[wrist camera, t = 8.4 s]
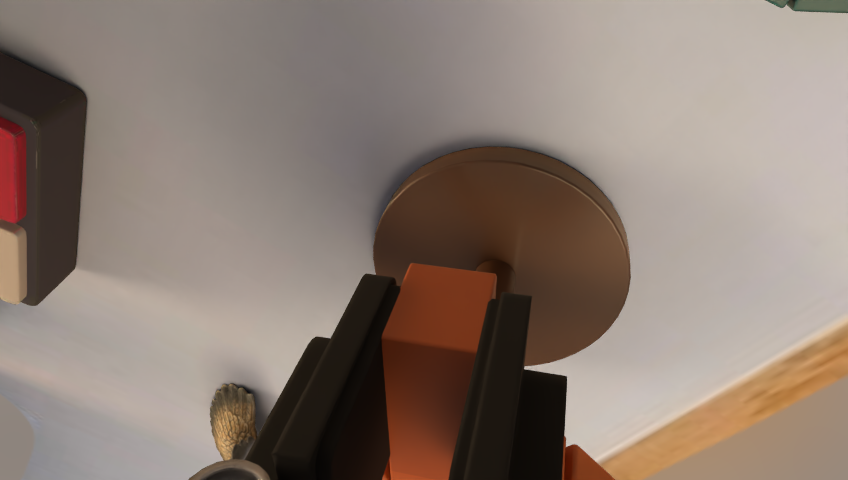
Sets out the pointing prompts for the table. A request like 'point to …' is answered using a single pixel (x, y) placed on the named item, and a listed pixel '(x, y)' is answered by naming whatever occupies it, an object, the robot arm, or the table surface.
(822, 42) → the table surface
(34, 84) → the calculator
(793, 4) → the teal ring
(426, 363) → the orange ring
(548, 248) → the peg stand
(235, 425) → the eagle figurine
